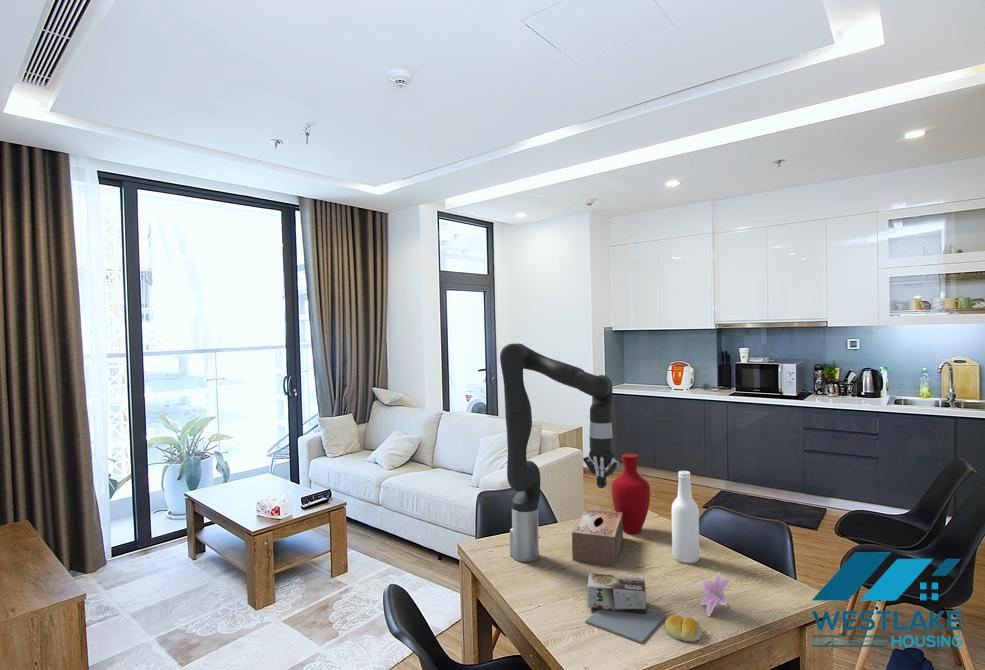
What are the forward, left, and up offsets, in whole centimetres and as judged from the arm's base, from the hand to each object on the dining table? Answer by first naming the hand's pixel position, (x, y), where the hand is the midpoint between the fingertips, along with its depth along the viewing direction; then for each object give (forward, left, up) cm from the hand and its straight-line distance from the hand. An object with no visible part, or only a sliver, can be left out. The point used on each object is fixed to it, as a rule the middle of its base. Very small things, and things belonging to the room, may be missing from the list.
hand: (601, 487), depth 177 cm
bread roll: (+34, -22, -28) cm, 49 cm away
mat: (+20, -25, -27) cm, 42 cm away
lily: (+37, -4, -27) cm, 47 cm away
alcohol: (+19, +24, -27) cm, 41 cm away
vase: (-7, +37, -27) cm, 46 cm away
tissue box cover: (-9, +14, -28) cm, 32 cm away
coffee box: (+7, -23, -23) cm, 34 cm away
